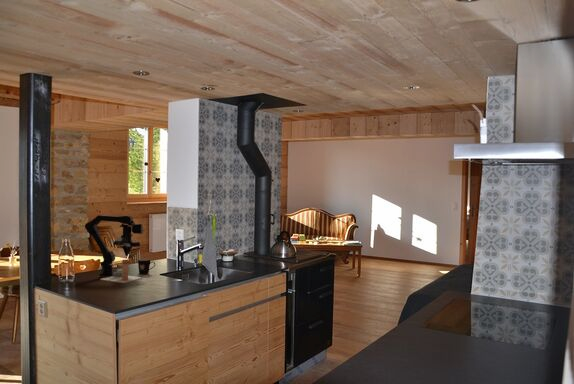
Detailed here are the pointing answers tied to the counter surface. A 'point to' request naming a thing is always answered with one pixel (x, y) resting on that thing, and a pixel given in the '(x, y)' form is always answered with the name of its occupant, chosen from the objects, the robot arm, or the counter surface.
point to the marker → (125, 270)
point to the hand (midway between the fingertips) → (126, 255)
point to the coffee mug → (144, 266)
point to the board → (120, 278)
